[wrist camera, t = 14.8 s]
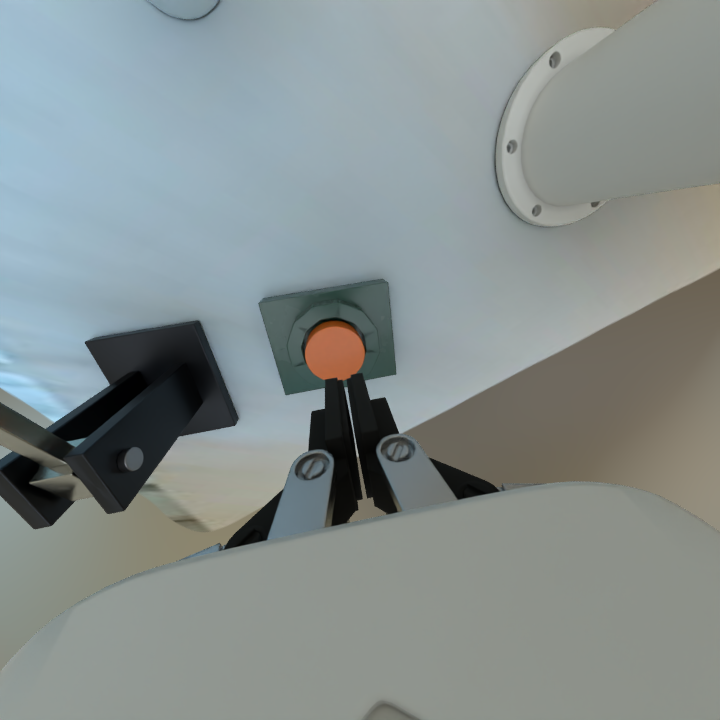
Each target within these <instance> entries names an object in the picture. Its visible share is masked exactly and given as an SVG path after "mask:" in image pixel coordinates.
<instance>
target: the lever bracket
mask: <svg viewBox="0 0 720 720" xmlns="http://www.w3.org/2000/svg"><path fill="white" fill-rule="evenodd" d="M85 344H86V346H87V347H88V349H89V351H90V352H91V354H92V356H93V357H94V359H95V361H96V362H97V364H98V365H99V367H100V369H101V370H102V372H103V374H104V375H105V377H106V379H107V380H108V382H109V384H110V386H108V387H107V388H105V389H104V390H102V391H101V392H99V393H98V394H96V395H95V396H93V397H92V398H90V399H89V400H87V401H86V402H85V403H83V404H82V405H80V406H79V407H77V408H76V409H74V410H73V411H71V412H70V413H68V414H67V415H65V416H64V417H62V418H61V419H59V420H58V421H57V422H55V423H54V424H52V425H51V426H49V427H48V428H46V430H48V431H49V432H51V433H53V434H54V435H56V436H58V437H59V438H61V439H63V440H65V441H66V442H67V441H72V440H77V439H82V438H86V439H85V440H84V441H83V442H81V443H80V444H79V445H78V446H77V447H75V448H74V449H73V450H72V451H71V452H69V453H68V454H67V455H66V456H65V457H64V458H63V459H64V460H65V461H66V463H67V464H68V465H69V466H70V468H71V469H72V470H73V472H74V473H75V474H76V475H77V477H78V478H79V479H80V480H81V482H82V483H83V484H84V485H85V487H86V488H87V489H88V490H89V492H90V493H91V494H92V495H93V497H94V498H95V499H96V500H97V502H98V503H99V504H100V505H101V507H102V508H103V509H104V511H105V512H106V513H107V514H112V513H116V512H121V511H124V510H125V509H126V508H127V507H128V505H129V504H130V503H131V501H132V500H133V499H134V497H135V496H136V494H137V493H138V492H139V490H140V489H141V488H142V486H143V485H144V483H145V482H146V481H147V479H148V478H149V477H150V475H151V474H152V473H153V471H154V470H155V468H156V467H157V466H158V464H159V463H160V462H161V460H162V459H163V457H164V456H165V455H166V453H167V452H168V451H169V449H170V448H171V446H172V445H173V444H174V442H175V441H176V440H177V438H178V437H179V436H184V435H189V434H195V433H200V432H205V431H210V430H215V429H221V428H226V427H231V426H235V425H236V423H237V421H238V417H237V414H236V412H235V409H234V407H233V404H232V402H231V399H230V397H229V394H228V392H227V389H226V387H225V384H224V382H223V379H222V377H221V374H220V372H219V369H218V367H217V364H216V362H215V359H214V357H213V354H212V352H211V349H210V347H209V344H208V342H207V339H206V337H205V334H204V332H203V329H202V327H201V324H200V322H199V321H192V322H186V323H180V324H174V325H168V326H162V327H156V328H150V329H144V330H138V331H132V332H126V333H120V334H114V335H108V336H102V337H96V338H93V339H90V340H88V341H86V342H85ZM40 466H41V465H40V464H38V463H36V462H34V461H32V460H30V459H28V458H26V457H24V456H22V455H20V454H18V453H16V452H14V451H12V452H11V453H9V454H8V455H6V456H5V457H4V458H2V459H1V460H0V496H1V497H2V498H3V499H4V500H5V501H6V502H7V503H8V504H9V505H10V506H11V507H12V508H13V509H14V510H15V511H16V512H17V513H18V514H19V515H20V516H21V517H22V518H23V519H24V520H25V521H26V522H27V523H28V524H29V525H30V526H31V527H32V528H33V529H39V528H44V527H49V526H52V525H53V524H54V523H55V522H56V521H57V519H59V517H61V515H62V514H63V513H64V512H65V511H66V510H67V509H68V508H69V507H70V506H71V505H72V504H73V503H74V502H75V501H76V500H75V501H70V500H68V499H65V498H63V497H60V496H58V495H56V494H53V493H51V492H48V491H46V490H44V489H41V488H39V487H36V486H34V485H32V484H29V482H30V481H31V479H32V478H33V476H34V475H35V474H36V472H37V471H38V469H39V468H40Z"/></svg>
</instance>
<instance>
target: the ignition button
mask: <svg viewBox="0 0 720 720" xmlns="http://www.w3.org/2000/svg"><path fill="white" fill-rule="evenodd" d="M364 358H365V349H364V345H363V342H362V340H361V338H360V336H359V334H358V332H357V331H356V330H355V329H354V328H353V327H352V326H351V325H349V324H347V323H345V322H342V321H327V322H324V323H322V324H320V325H318V326H317V327H315V328H314V329H313V330H312V332H311V333H310V334H309V336H308V339H307V342H306V349H305V359H306V363H307V365H308V367H309V369H310V370H311V371H312V373H313V374H315V375H316V376H317V377H319V378H321V379H323V380H325V379H330V378H336V377H337V378H338V380H346V379H348V378H350V377H351V375H352V374H356V373H357V372H358V371H359V369H360V368H361V366H362V364H363V362H364Z"/></svg>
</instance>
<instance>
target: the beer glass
mask: <svg viewBox="0 0 720 720" xmlns="http://www.w3.org/2000/svg"><path fill="white" fill-rule="evenodd" d="M148 1H149V2H150V3H151V4H153V5H154V6H155V7H156V8H158V9H159V10H161V11H162V12H164V13H166V14H168V15H170V16H172V17H175V18H179V19H187V20H188V19H196V18H200V17H202V16H204V15H206V14H207V13H209V12H210V11H211V10H212V9H213V8H214V7H215V5H216V4H217V3H218V1H219V0H148Z"/></svg>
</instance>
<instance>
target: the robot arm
mask: <svg viewBox="0 0 720 720" xmlns="http://www.w3.org/2000/svg"><path fill="white" fill-rule="evenodd" d="M496 174H497V178H498V183H499V187H500V190H501V192H502V195H503V197H504V199H505V201H506V203H507V204H508V206H509V207H510V208H511V210H512V211H513V212H514V213H515V214H516V215H517V216H518V217H520V218H521V219H522V220H524V221H526V222H528V223H530V224H532V225H537V226H542V227H551V226H562V225H568V224H571V223H574V222H577V221H579V220H582V219H583V218H585V217H587V216H589V215H590V214H592V213H594V212H595V211H596V210H597V209H599V208H600V207H601V206H602V205H604V204H605V203H606V202H607V201H608V200H610V199H617V198H624V197H630V196H637V195H644V194H651V193H657V192H664V191H671V190H678V189H684V188H691V187H698V186H705V185H711V184H718V183H720V0H657V1H656V2H654V3H653V4H651V5H650V6H649V7H647V8H646V9H644V10H643V11H642V12H640V13H639V14H638V15H636V16H635V17H633V18H632V19H631V20H629V21H628V22H626V23H625V24H624V25H622V26H621V27H619V28H618V29H617V30H614V29H612V28H606V27H592V28H588V29H584V30H580V31H577V32H575V33H573V34H571V35H569V36H567V37H565V38H563V39H562V40H560V41H559V42H558V43H557V44H555V45H554V46H553V47H551V48H550V49H549V50H548V51H546V52H545V53H544V54H543V55H542V56H541V57H540V58H539V59H538V60H537V61H536V62H535V63H534V64H533V65H532V66H531V67H530V68H529V69H528V71H527V72H526V73H525V75H524V76H523V77H522V79H521V80H520V81H519V83H518V85H517V87H516V88H515V90H514V92H513V94H512V96H511V97H510V99H509V102H508V104H507V107H506V109H505V112H504V114H503V117H502V120H501V124H500V128H499V133H498V137H497V146H496ZM346 380H347V387H348V393H349V400H350V407H351V413H352V420H353V426H354V433H355V438H356V444H357V449H358V454H359V459H360V464H361V469H362V474H363V479H364V484H365V489H366V494H367V498H371V497H373V500H374V505H375V507H378V508H379V509H381V510H383V511H384V512H386V515H384V516H378V517H374V518H369V519H364V520H360V521H355V522H349V519H350V517H351V516H352V515H353V513H354V512H355V511H357V510H358V502H357V500H361V499H363V498H362V491H361V485H360V477H359V470H358V463H357V456H356V450H355V443H354V436H353V430H352V425H351V420H350V414H349V409H348V404H347V399H346V394H345V389H344V384H343V380H338V378H337V377H336V378H330V379H325V409H321V410H316V411H312V413H311V424H310V436H309V449H308V452H306V453H303V454H302V455H300V456H299V457H298V458H297V459H296V460H295V461H294V462H293V464H292V466H291V468H290V471H289V474H288V477H287V480H286V484H285V487H284V489H283V490H282V491H280V492H279V493H278V494H277V495H276V496H275V497H274V498H273V499H272V500H271V501H270V502H269V503H267V504H266V505H265V506H264V507H263V508H262V509H261V510H260V511H259V512H258V513H257V514H255V515H254V516H253V517H252V518H251V519H250V520H249V521H248V522H247V523H246V524H245V525H244V526H242V527H241V528H240V529H239V530H238V531H237V532H236V533H235V534H234V535H233V537H231V539H230V540H229V541H228V543H227V544H226V545H224V546H221V544H220V543H218V544H216V545H214V546H211V547H209V548H207V549H204V550H202V551H200V552H197V553H195V554H193V555H190V556H188V557H186V558H183V559H181V560H179V561H176V562H173V563H169V564H166V565H162V566H159V567H155V568H152V569H149V570H147V571H144V572H141V573H138V574H135V575H132V576H130V577H128V578H125V579H123V580H121V581H119V582H116V583H114V584H112V585H109V586H107V587H105V588H103V589H101V590H100V591H98V592H96V593H94V594H92V595H91V596H89V597H87V598H85V599H83V600H81V601H79V602H78V603H76V604H75V605H73V606H72V607H70V608H69V609H67V610H65V611H64V612H63V613H61V614H60V615H58V616H57V617H56V618H54V619H53V620H51V621H50V622H49V623H48V624H47V625H45V626H44V627H43V628H42V629H40V630H39V631H38V632H37V633H36V634H35V635H34V636H33V637H32V638H31V639H30V640H29V641H28V642H27V643H26V644H25V645H24V646H23V647H22V648H21V649H20V650H19V651H18V652H17V653H16V654H15V655H14V656H13V657H12V659H11V660H10V661H9V662H8V663H7V664H6V666H4V668H3V669H2V670H1V671H0V720H720V531H718V530H717V529H715V528H714V527H712V526H711V525H709V524H708V523H706V522H705V521H703V520H702V519H700V518H699V517H697V516H695V515H694V514H692V513H691V512H689V511H687V510H686V509H684V508H682V507H680V506H679V505H677V504H675V503H673V502H671V501H669V500H667V499H665V498H663V497H661V496H659V495H656V494H653V493H651V492H648V491H645V490H641V489H637V488H633V487H628V486H623V485H616V484H609V483H600V482H559V483H550V484H502V487H495V486H494V485H492V484H491V483H489V482H487V481H485V480H482V479H480V478H478V477H475V476H473V475H470V474H468V473H465V472H463V471H461V470H458V469H456V468H453V467H451V466H448V465H446V464H443V463H441V462H439V461H436V460H434V459H431V458H429V457H428V456H427V455H426V454H425V452H424V450H423V449H422V448H421V446H420V445H419V443H418V442H417V441H416V440H415V439H414V438H413V437H411V436H409V435H405V434H399V432H398V429H397V427H396V424H395V421H394V419H393V416H392V414H391V411H390V408H389V406H388V403H387V400H386V398H385V397H384V398H379V399H374V400H370V398H369V395H368V391H367V387H366V384H365V380H364V377H363V373H357V374H352V375H351V378H348V379H346Z"/></svg>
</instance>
